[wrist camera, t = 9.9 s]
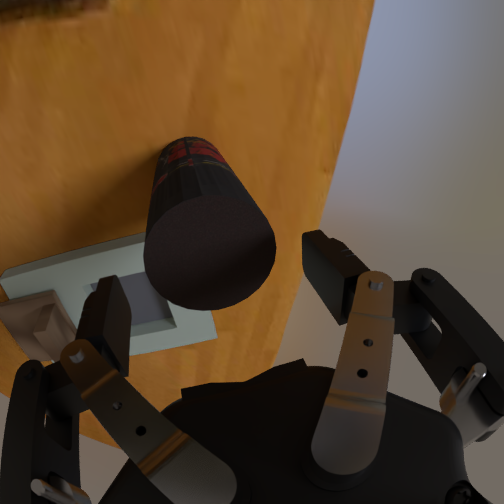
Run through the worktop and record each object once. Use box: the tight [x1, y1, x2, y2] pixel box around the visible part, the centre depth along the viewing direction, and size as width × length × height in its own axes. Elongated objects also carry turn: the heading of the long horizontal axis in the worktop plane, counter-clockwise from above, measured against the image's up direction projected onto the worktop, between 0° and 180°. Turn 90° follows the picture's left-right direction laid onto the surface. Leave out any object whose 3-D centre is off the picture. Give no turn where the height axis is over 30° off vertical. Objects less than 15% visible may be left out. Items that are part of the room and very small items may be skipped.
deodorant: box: [143, 137, 276, 311], centre depth 19 cm, size 6×6×15 cm
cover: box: [0, 290, 77, 362], centre depth 25 cm, size 9×9×5 cm
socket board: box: [0, 232, 218, 363], centre depth 29 cm, size 14×22×2 cm, turn 96°
